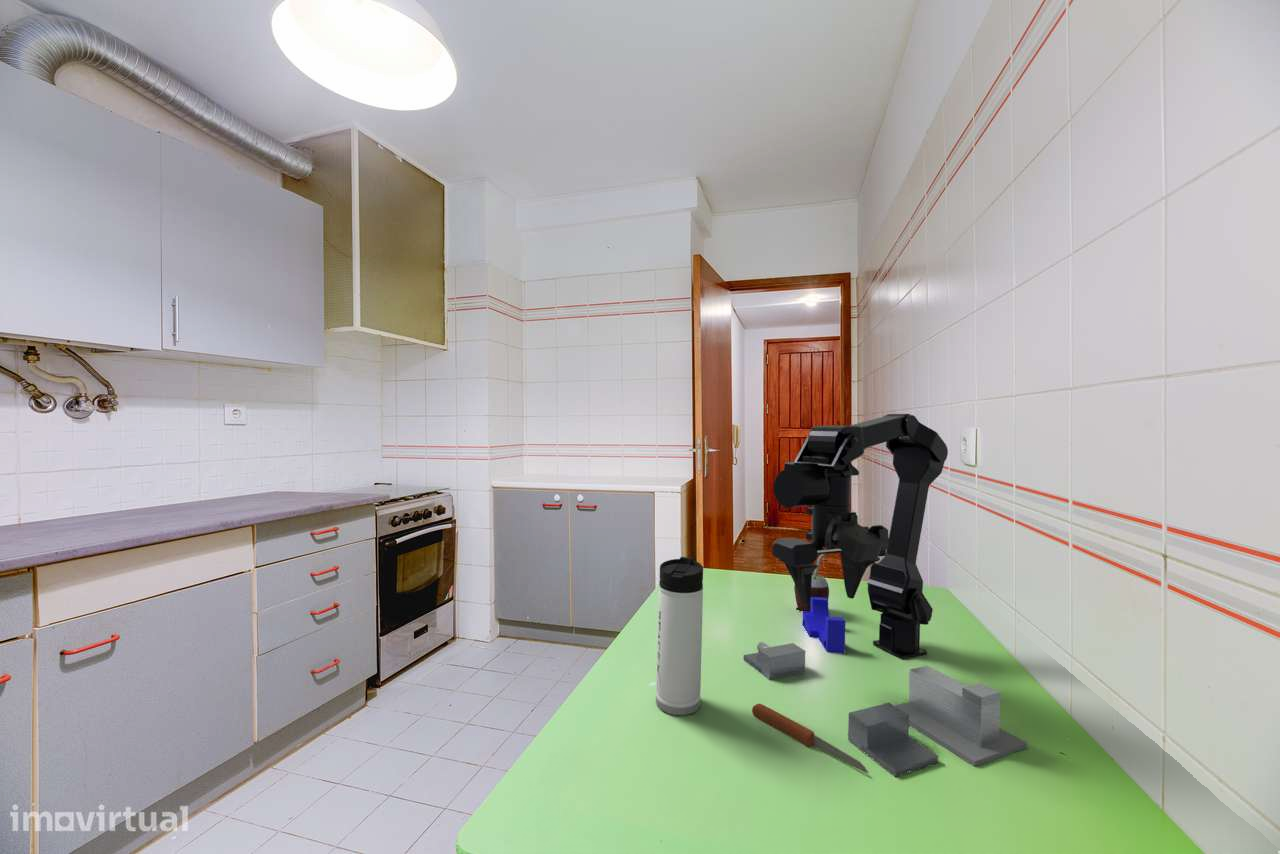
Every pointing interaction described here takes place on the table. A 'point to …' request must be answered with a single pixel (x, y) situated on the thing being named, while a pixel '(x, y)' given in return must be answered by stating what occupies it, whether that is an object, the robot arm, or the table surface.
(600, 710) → the table surface
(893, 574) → the robot arm
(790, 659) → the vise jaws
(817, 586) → the mate gourd
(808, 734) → the kitchen knife
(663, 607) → the travel mug
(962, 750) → the mat
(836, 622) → the blue stepped block
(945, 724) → the steel bar
